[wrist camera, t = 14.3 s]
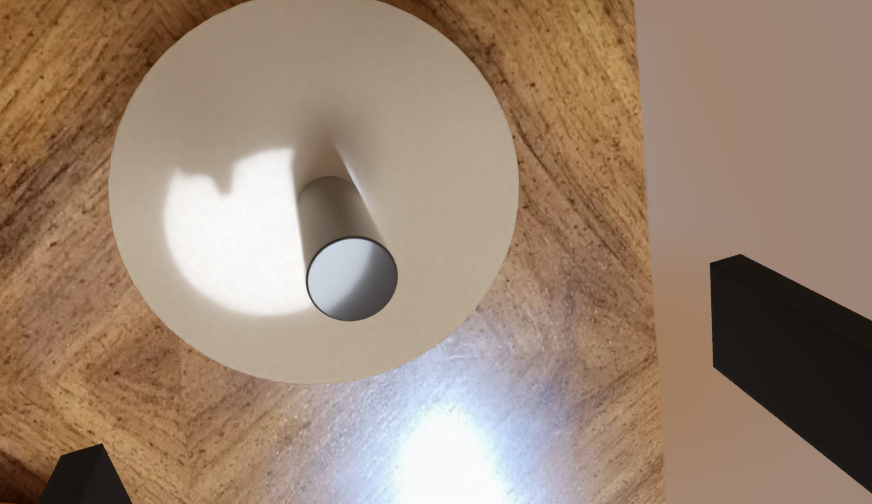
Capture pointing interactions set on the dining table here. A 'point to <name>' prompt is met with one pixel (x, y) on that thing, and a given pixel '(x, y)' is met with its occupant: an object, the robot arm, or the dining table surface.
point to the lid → (313, 188)
